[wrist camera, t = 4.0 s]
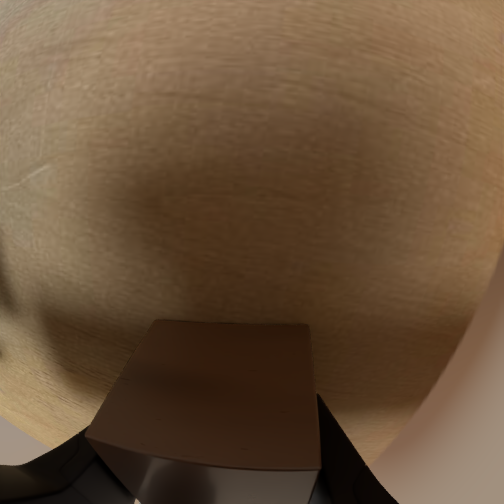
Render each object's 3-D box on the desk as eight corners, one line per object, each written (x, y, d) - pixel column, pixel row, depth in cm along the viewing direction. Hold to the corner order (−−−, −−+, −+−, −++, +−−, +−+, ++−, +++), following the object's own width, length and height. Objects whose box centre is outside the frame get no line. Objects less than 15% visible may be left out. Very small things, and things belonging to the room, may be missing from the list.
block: (299, 420, 11) (299, 529, 6) (181, 413, 11) (147, 510, 7) (309, 323, 9) (322, 469, 4) (154, 318, 9) (82, 435, 5)
